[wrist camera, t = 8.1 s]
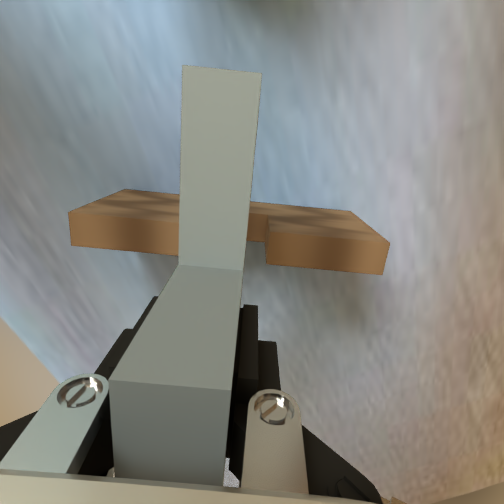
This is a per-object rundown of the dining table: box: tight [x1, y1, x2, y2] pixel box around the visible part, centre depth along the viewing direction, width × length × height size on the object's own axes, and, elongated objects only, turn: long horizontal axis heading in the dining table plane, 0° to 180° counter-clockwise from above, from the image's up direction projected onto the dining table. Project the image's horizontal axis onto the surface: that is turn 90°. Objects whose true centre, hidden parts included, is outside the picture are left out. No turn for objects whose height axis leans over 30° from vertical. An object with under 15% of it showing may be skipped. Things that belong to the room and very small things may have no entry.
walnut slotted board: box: [68, 189, 390, 275], centre depth 27 cm, size 22×2×10 cm, turn 85°
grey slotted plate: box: [108, 65, 262, 486], centre depth 15 cm, size 18×2×16 cm, turn 174°
